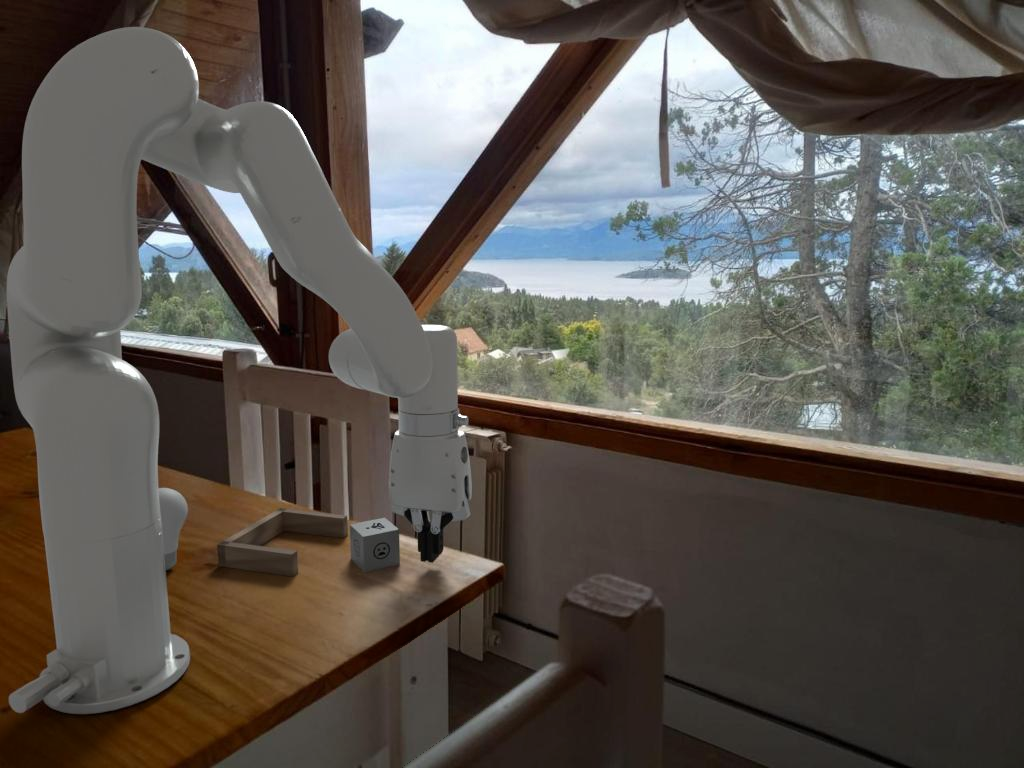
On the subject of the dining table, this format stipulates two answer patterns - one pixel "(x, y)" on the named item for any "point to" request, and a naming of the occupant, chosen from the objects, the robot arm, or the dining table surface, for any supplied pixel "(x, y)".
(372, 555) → the dice cube
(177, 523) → the lightbulb
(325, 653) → the dining table surface
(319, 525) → the box
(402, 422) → the robot arm
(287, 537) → the dining table surface
